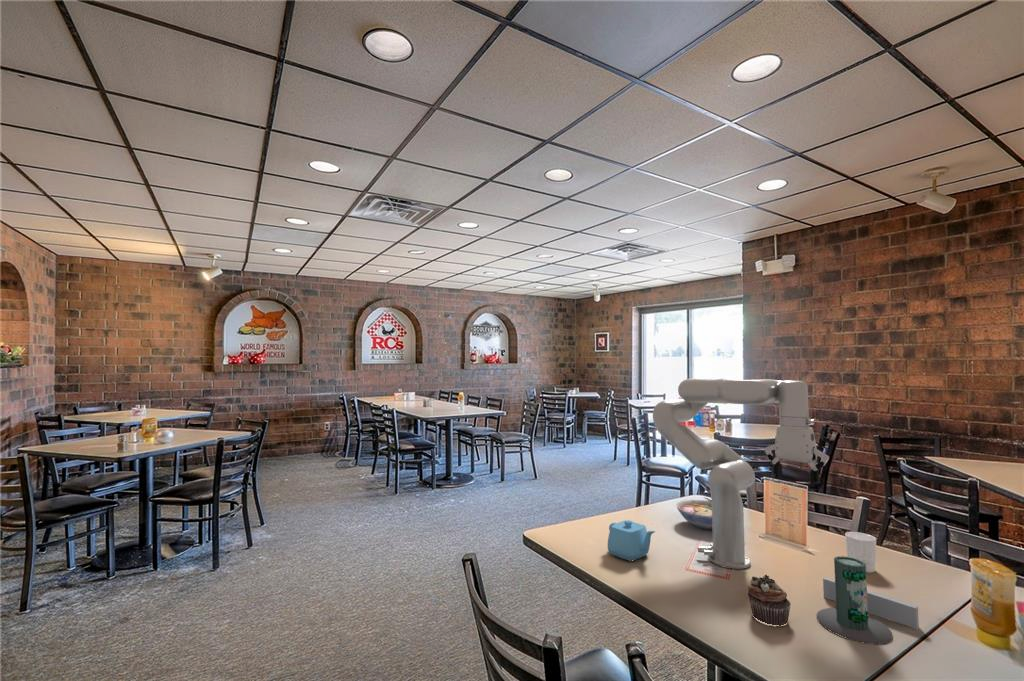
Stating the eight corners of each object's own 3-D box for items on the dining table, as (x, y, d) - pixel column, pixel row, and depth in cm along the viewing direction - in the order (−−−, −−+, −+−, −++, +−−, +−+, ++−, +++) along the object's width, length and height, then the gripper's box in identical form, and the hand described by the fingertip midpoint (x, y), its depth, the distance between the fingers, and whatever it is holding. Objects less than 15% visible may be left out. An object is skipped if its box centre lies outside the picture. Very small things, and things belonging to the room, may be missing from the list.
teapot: (645, 570, 147) (644, 533, 147) (599, 553, 160) (598, 519, 161) (666, 559, 155) (665, 524, 155) (620, 544, 168) (620, 511, 169)
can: (859, 632, 111) (857, 568, 112) (832, 620, 117) (829, 559, 117) (872, 625, 114) (869, 563, 115) (844, 614, 120) (842, 554, 120)
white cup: (883, 574, 143) (881, 541, 144) (854, 572, 145) (852, 539, 145) (868, 564, 151) (867, 532, 151) (841, 562, 152) (840, 530, 153)
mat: (837, 641, 109) (836, 639, 109) (805, 608, 124) (805, 606, 124) (908, 646, 107) (908, 644, 107) (867, 612, 122) (867, 610, 122)
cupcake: (773, 632, 112) (772, 590, 113) (739, 613, 121) (738, 574, 122) (800, 624, 116) (799, 582, 117) (765, 605, 125) (764, 567, 126)
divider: (917, 629, 114) (916, 608, 114) (823, 597, 129) (823, 578, 130) (918, 627, 115) (917, 606, 115) (826, 595, 130) (825, 577, 131)
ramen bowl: (665, 517, 198) (665, 497, 198) (716, 515, 200) (716, 495, 201) (694, 539, 173) (694, 516, 173) (752, 536, 175) (752, 514, 176)
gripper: (832, 424, 134) (834, 484, 133) (769, 418, 148) (771, 473, 147) (822, 426, 130) (824, 488, 129) (758, 420, 143) (760, 476, 143)
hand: (796, 480), depth 138 cm, fingers open, 9 cm apart
